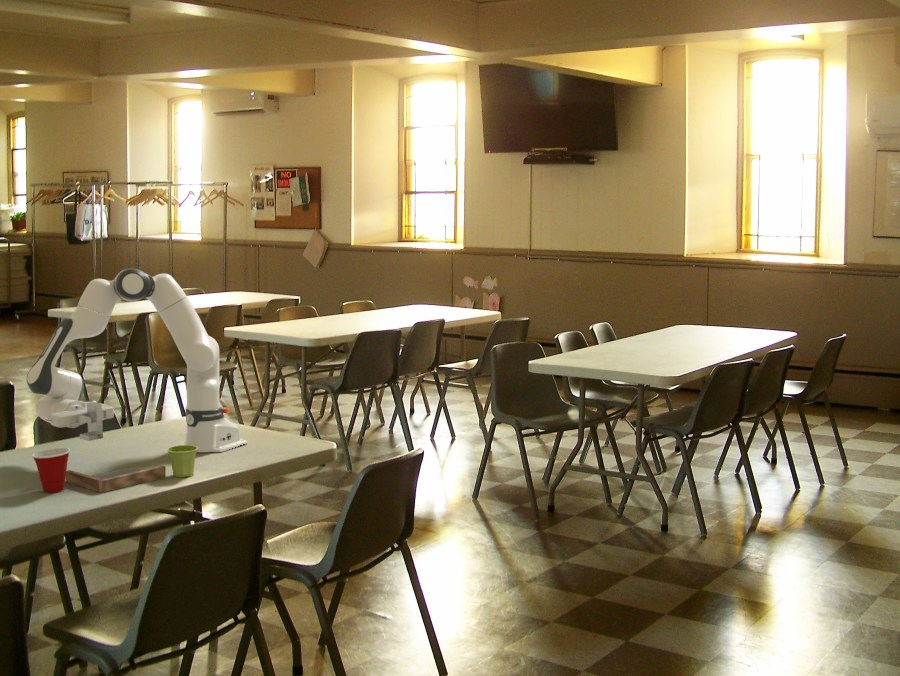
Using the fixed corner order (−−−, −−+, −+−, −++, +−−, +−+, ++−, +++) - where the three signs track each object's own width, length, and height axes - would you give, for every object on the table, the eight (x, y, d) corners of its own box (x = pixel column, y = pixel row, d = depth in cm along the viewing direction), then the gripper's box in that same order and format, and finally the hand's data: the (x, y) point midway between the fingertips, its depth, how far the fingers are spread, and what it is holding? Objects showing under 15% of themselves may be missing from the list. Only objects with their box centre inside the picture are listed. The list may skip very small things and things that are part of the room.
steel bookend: (93, 435, 345) (92, 402, 343) (103, 438, 342) (101, 403, 340) (79, 438, 341) (78, 404, 339) (89, 440, 338) (87, 406, 336)
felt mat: (128, 468, 347) (128, 467, 346) (159, 476, 337) (159, 475, 337) (73, 481, 331) (73, 479, 331) (104, 489, 321) (104, 488, 321)
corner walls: (129, 467, 347) (128, 457, 347) (165, 477, 336) (165, 466, 335) (65, 482, 329) (65, 471, 329) (102, 492, 318) (101, 481, 317)
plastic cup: (39, 486, 325) (37, 447, 324) (76, 485, 326) (74, 446, 325) (28, 495, 314) (26, 455, 313) (66, 495, 315) (64, 455, 314)
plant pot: (190, 480, 333) (190, 452, 332) (162, 478, 335) (161, 451, 334) (203, 472, 342) (202, 445, 341) (176, 471, 344) (175, 444, 343)
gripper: (41, 409, 341) (66, 414, 333) (98, 399, 357) (123, 404, 349) (42, 428, 342) (67, 434, 333) (99, 418, 358) (124, 423, 349)
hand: (96, 419), depth 341 cm, fingers closed on steel bookend
